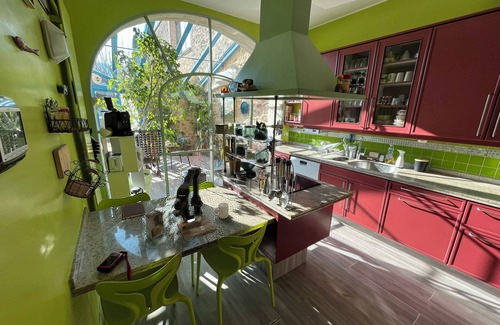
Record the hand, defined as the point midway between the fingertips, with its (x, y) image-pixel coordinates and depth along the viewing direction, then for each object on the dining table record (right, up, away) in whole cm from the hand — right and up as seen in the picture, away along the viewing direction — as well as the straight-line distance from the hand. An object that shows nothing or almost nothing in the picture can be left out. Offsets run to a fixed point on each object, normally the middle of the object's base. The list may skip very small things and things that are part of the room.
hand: (185, 223), depth 148 cm
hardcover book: (-52, +3, +23) cm, 57 cm away
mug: (+24, 0, +17) cm, 29 cm away
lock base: (+8, -4, 0) cm, 9 cm away
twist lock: (+4, -2, +1) cm, 5 cm away
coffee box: (-18, -6, -8) cm, 20 cm away
